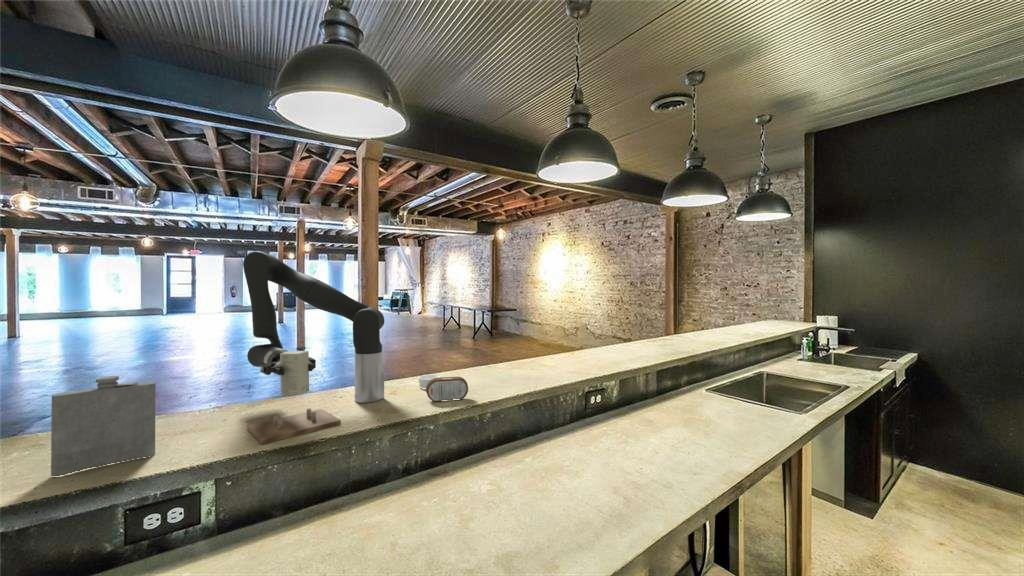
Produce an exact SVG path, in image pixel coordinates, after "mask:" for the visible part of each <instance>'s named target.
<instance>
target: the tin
mask: <svg viewBox="0 0 1024 576" xmlns="http://www.w3.org/2000/svg"><path fill="white" fill-rule="evenodd" d="M425 392H426V395H427V397H428V398H429V400H430V401H432V402H434V401H441V400H453V399H461V400H463V399H465V397H466V396H467V395H468V393H469V385H468V382H467V380H466V379H465V378H463V377H462V376H444V377H443V376H442V377H441V376H440V377H439V378H434V379H432V380H431V381H430V382H429V383H428V384H427V387H426V390H425Z"/></svg>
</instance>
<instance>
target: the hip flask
mask: <svg viewBox="0 0 1024 576" xmlns="http://www.w3.org/2000/svg"><path fill="white" fill-rule="evenodd" d="M119 378H120V376H119V375H108V376H102V377H101V376H100V377H97V378H95V383H96V387H95V388H93V387H92V388H87V389H85V388H84V389H79V390H72V391H64V392H58V393H53V394H52V395H51V420H50V421H51V426H50V427H51V431H50V432H51V433H50V434H51V435H50V436H51V437H50V441H51V442H50V443H51V444H50V445H51V447H50V477H51V476H60V475H65V474H68V473H72V472H75V471H80V470H83V469H87V468H92V467H99V466H103V465H107V464H111V463H117V462H122V461H127V460H132V459H137V458H143V457H149V456H152V455H154V454H155V455H156V399H157V398H156V392H157V390H156V381H147V382H139V381H137V382H124V383H122V382H121V383H119V382H118V381H119V380H120V379H119ZM155 455H154V456H155ZM152 457H153V456H152ZM149 458H150V457H149Z"/></svg>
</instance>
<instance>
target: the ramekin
mask: <svg viewBox="0 0 1024 576" xmlns="http://www.w3.org/2000/svg"><path fill="white" fill-rule="evenodd" d="M421 376H422V377H421ZM439 377H441V375H438V374H423V375H420V376H419V377H418V383H419V388H420V387H422V388H426V387H427V384H428V383H429V382H430V381H431V380H432V379H434V378H439Z"/></svg>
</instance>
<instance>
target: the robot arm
mask: <svg viewBox="0 0 1024 576" xmlns="http://www.w3.org/2000/svg"><path fill="white" fill-rule="evenodd" d="M242 267H243V273H244V276H245V280H246V285H247V290H248V293H249V299H250V306H251V315H252V318H251V319H252V334H253V336H254V337H255V338H258V339H266V340H268V341H269V342H270V343H266V344H265V343H264V344H258V345H253V346H252V347H250V348H249V349H248V352H247V356H246V357H247V361H248V362H249V364H250V365H252V366H253V367H257V368H260V369H259V371H260V373H262V374H264V375H267V376H269V375H271V374H272V373H273V375H277V376H281V375H284V367H282V366H280V353H283V352H287V351H288V350H287V349H284V347H283V345H282V343H281V339H280V337H279V333H278V327H277V326H278V325H277V323H278V322H277V313H276V309H275V305H274V303H273V300H272V297H271V294H270V290H269V282H271V283H274V284H275V285H278V286H281V287H283V288H286V289H287V290H288V291H289V292H290V293H292V294H293V295H294V296H295V297H297V299H299V300H301V301H303V303H306V304H308V305H309V306H312V307H313V308H316V309H319V310H320V311H324V312H326V313H331V314H333V315H334V314H335V315H338V316H340V317H343V318H345V319H348V321H351V322H352V342H353V343H352V344H353V347H354V402H356V403H360V404H362V403H363V404H368V403H374V402H378V401H380V400H381V399H385V372H384V371H383V344H382V343H381V335H380V334H381V331H380V330H381V329H382V328H383V326H385V316H384V315H383V313H382V312H381V311H380V310H379V309H377V308H376V307H373V306H370V305H368V304H365V303H363V302H360V301H357V300H355V299H353V298H351V296H348V295H347V294H346V293H343V292H342V291H340V290H338V289H337V288H334V287H333V286H331V285H329V284H327V283H325V282H324V281H322V280H319V279H318V278H315V277H313V276H311V275H308V274H305V273H303V272H300V271H298V270H296V269H294V268H292V267H291V266H289V265H288V264H286V263H285V262H283V261H282V260H280V259H279V258H277V257H275V256H273V255H272V254H269V253H266V252H263V251H258V250H256V251H251V252H249V253H247V254H246V256H244V258H243V262H242ZM316 362H317V361H316V359H314V358H313V357H310V356H309V372H313V370H315V369H316V368H317V367H316V365H317V364H316Z"/></svg>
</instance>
